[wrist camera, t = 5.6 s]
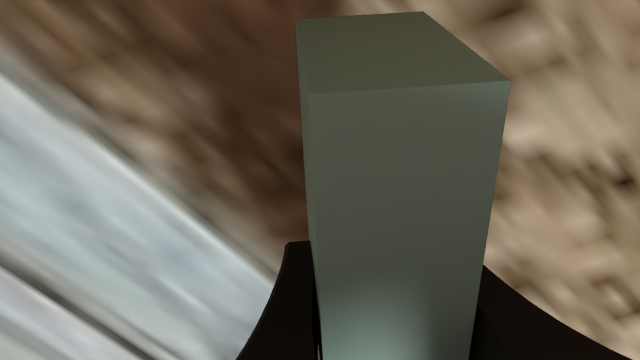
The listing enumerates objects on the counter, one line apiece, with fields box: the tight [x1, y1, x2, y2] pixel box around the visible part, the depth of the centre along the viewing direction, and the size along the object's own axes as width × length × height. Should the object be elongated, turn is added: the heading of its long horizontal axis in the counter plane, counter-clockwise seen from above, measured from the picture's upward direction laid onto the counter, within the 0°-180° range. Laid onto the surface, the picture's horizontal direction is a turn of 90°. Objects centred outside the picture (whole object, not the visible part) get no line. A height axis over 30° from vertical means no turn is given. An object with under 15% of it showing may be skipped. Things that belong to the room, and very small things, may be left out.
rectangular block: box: [295, 11, 511, 360], centre depth 13 cm, size 3×12×5 cm, turn 2°
